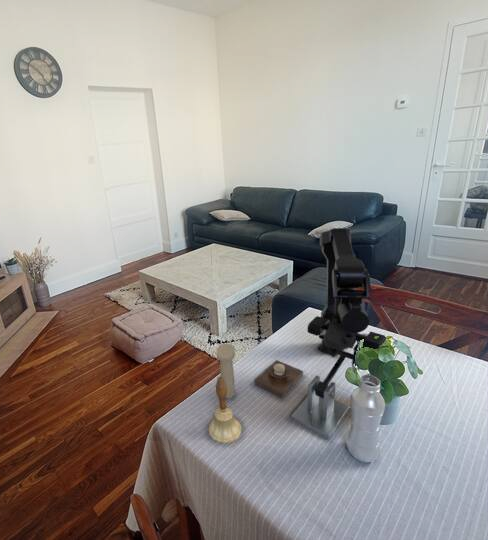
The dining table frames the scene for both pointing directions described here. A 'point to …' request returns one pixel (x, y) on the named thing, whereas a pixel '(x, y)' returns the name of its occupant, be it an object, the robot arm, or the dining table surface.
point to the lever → (331, 373)
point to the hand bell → (224, 418)
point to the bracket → (320, 410)
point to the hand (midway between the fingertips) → (343, 360)
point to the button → (279, 369)
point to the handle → (227, 366)
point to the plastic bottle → (366, 419)
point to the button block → (279, 379)
